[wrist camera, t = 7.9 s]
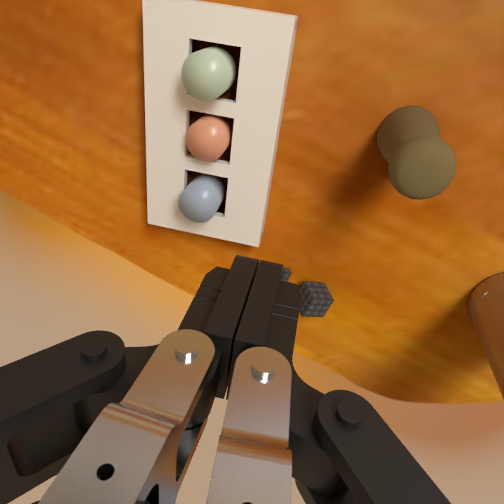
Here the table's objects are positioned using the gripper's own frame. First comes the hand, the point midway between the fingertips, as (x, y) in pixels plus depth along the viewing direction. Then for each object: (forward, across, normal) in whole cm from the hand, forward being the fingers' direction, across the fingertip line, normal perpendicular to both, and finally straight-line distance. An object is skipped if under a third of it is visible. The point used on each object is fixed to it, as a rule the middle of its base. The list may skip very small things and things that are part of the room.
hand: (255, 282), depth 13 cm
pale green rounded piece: (+31, +10, 0) cm, 33 cm away
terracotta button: (+33, +10, +6) cm, 35 cm away
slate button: (+31, +10, +12) cm, 35 cm away
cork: (+33, -10, +3) cm, 35 cm away
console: (+33, +10, +6) cm, 35 cm away
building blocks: (+33, -3, +24) cm, 41 cm away
